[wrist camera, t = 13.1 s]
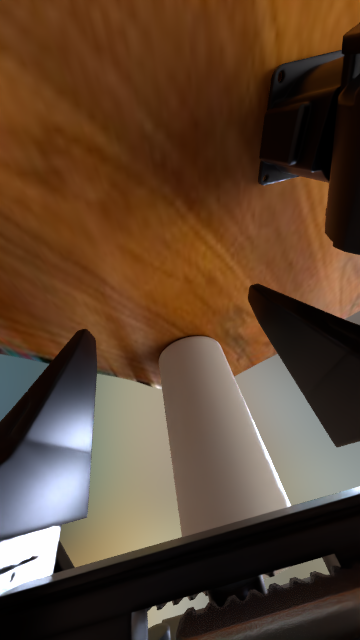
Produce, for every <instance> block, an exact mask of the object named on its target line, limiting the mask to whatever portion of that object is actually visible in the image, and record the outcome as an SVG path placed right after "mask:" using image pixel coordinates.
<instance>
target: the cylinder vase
mask: <svg viewBox="0 0 360 640" xmlns="http://www.w3.org/2000/svg"><path fill="white" fill-rule="evenodd" d="M159 369H160V376H161V384H162V391H163V398H164V405H165V413H166V421H167V428H168V435H169V443H170V450H171V458H172V465H173V473H174V480H175V487H176V495H177V502H178V510H179V517H180V524H181V532H182V537H184V536H188V535H191V534H195V533H198V532H202V531H205V530H209V529H212V528H216V527H219V526H223V525H226V524H230V523H233V522H237V521H240V520H244V519H247V518H251V517H254V516H258V515H261V514H265V513H268V512H272V511H275V510H279V509H282V508H286V507H289V506H291V505H290V503H289V500H288V498H287V496H286V494H285V491H284V489H283V487H282V484H281V482H280V480H279V478H278V475H277V473H276V471H275V469H274V466H273V464H272V462H271V459H270V457H269V455H268V453H267V451H266V448H265V446H264V444H263V441H262V439H261V437H260V435H259V432H258V430H257V428H256V426H255V423H254V421H253V419H252V416H251V414H250V412H249V410H248V407H247V405H246V403H245V400H244V399H243V396H242V394H241V391H240V389H239V387H238V385H237V382H236V380H235V378H234V376H233V373H232V371H231V369H230V366H229V364H228V362H227V360H226V357H225V355H224V353H223V351H222V348H221V346H220V344H219V343H218V342H217V341H216V340H214V339H212V338H209V337H205V336H192V337H187V338H183V339H180V340H178V341H176V342H174V343H172V344H171V345H169V346H168V347H167V348H166V349H165V350H164V351H163V352H162V353H161V355H160V358H159ZM290 567H291V566H290ZM290 567H287V568H284V569H280V570H277V571H276V572H275V575H276V574H278V573H280V572H282V571H284V570H286V569H288V568H290ZM268 577H269V576H267V575H265V574H263V575H262V578H263V579H266V578H268Z"/></svg>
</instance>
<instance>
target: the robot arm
mask: <svg viewBox="0 0 360 640" xmlns="http://www.w3.org/2000/svg"><path fill="white" fill-rule="evenodd" d="M280 72H281V74H282V77H281V80H280V82H278V75H279V73H280ZM260 159H261V161H260V168H259V176H258V182H259V184H261V185H267V184H271V183H275V182H279V181H283V180H287V179H291V178H295V177H299V176H302V177H306V178H311V179H315V180H320V181H324V182H328V183H329V191H328V201H327V208H326V220H325V233H326V234H327V236H328V237H329V238H330V240H331V241H333V246H334V247H335V248H337V249H340V250H342V251H344V252H349V253H353V254H357V255H360V23H359V24H357V25H356V26H355V27H354V28H352V29H351V30H350V31H348V32H347V33H346V34H345V35H344V36H343V43H342V50H340V51H335V52H331V53H327V54H323V55H318V56H314V57H310V58H306V59H302V60H297V61H293V62H289V63H285V64H282V65H280V66H278V67H277V68H276V69H275V70H274V72H273V74H272V78H271V84H270V91H269V99H268V107H267V112H266V114H265V117H264V125H263V133H262V141H261V149H260ZM265 175H266V179H265V180H264V181H263V177H264V176H265ZM248 301H249V303H250V305H251V307H252V309H253V312H254V314H255V316H256V318H257V320H258V322H259V324H260V326H261V327H262V329H263V331H264V332H265V334H266V335H267V337H268V339H269V340H270V342H271V343H272V345H273V347H274V348H275V350H276V351H277V353H278V355H279V356H280V358H281V359H282V361H283V363H284V364H285V366H286V367H287V369H288V371H289V372H290V374H291V376H292V377H293V379H294V380H295V382H296V384H297V385H298V387H299V388H300V390H301V392H302V393H303V395H304V396H305V398H306V400H307V401H308V403H309V404H310V406H311V408H312V409H313V411H314V412H315V414H316V416H317V417H318V419H319V421H320V422H321V424H322V425H323V427H324V429H325V430H326V432H327V433H328V435H329V437H330V438H331V440H332V441H333V443H334V444H335V446H336V447H341V446H344V445H347V444H351V443H355V442H358V441H360V325H358V324H355V323H352V322H350V321H347V320H344V319H342V318H339V317H337V316H334V315H332V314H330V313H327V312H324V311H322V310H320V309H318V308H315V307H313V306H310V305H308V304H306V303H303V302H301V301H298V300H296V299H294V298H291V297H289V296H287V295H284V294H282V293H279V292H277V291H275V290H272V289H270V288H267V287H265V286H263V285H260V284H254V285H251V286H250V288H249V294H248ZM96 377H97V354H96V340H95V338H94V337H93V335H92V334H91V333H90V332H89V331H88V330H87V329H82V330H79V331H77V332H76V333H75V335H74V336H73V337H72V338H71V339H70V341H69V342H68V343H67V344H66V345H65V346H64V348H63V349H62V350H61V351H60V352H59V354H58V355H57V356H56V357H55V358H54V360H53V361H52V362H51V363H50V364H49V366H48V367H47V368H46V369H45V370H44V372H43V373H42V374H41V375H40V376H39V378H38V379H37V380H36V381H35V382H34V383H33V385H32V386H31V387H30V388H29V389H28V392H26V393H25V394H24V395H23V397H22V398H21V399H20V400H19V401H18V402H17V403H16V405H15V406H14V407H13V408H12V409H11V410H10V411H9V413H8V414H7V415H6V416H5V417H4V418H3V419H2V420H1V421H0V640H360V487H356V488H353V489H349V490H346V491H342V492H339V493H335V494H332V495H328V496H325V497H321V498H318V499H314V500H311V501H307V502H304V503H300V504H297V505H293V506H289V507H286V508H282V509H279V510H275V511H272V512H268V513H265V514H261V515H258V516H254V517H251V518H247V519H244V520H240V521H237V522H233V523H230V524H226V525H223V526H219V527H216V528H212V529H209V530H205V531H202V532H198V533H195V534H191V535H188V536H184V537H181V538H178V539H174V540H170V541H167V542H163V543H160V544H157V545H153V546H149V547H146V548H142V549H139V550H135V551H132V552H128V553H125V554H121V555H118V556H114V557H111V558H107V559H104V560H100V561H97V562H93V563H90V564H86V565H83V566H79V567H76V568H75V567H74V566H73V564H72V562H71V560H70V558H69V557H68V555H67V554H66V552H65V549H64V548H63V546H62V544H61V542H60V541H59V536H60V530H61V525H62V524H66V523H69V522H73V521H77V520H80V519H83V518H86V517H87V512H88V499H89V484H90V469H91V452H92V451H91V450H92V436H93V422H94V406H95V392H96ZM321 557H322V558H323V560H324V562H325V564H326V567H327V569H328V571H329V573H330V575H324V574H322V573H319V572H316V571H314V572H311V573H310V577H308V578H304V579H298V578H296V577H294V578H290V582H289V583H287V584H284V585H281V586H280V585H278V584H276V583H274V584H270V585H269V589H267V590H266V588H265V584H264V581H263V578H262V575H263V574H265V575H267V576H269V577H273V576H274V575H275V572H276V571H277V570H280V569H284V568H287V567H290V566H293V565H297V564H301V563H304V562H308V561H311V560H314V559H318V558H321ZM201 592H203V593H204V594H205V595H206V596H208V597H209V603H208V604H207V606H206V607H205V608H202V609H199V610H195V609H194V607H192V608H188V609H187V610H186V612H185V613H184V614H182V615H178V616H175V617H172V618H168V619H165V620H163V621H162V623H160V624H156V625H154V626H152V627H150V628H149V629H148V620H147V611H148V610H150V609H151V607H153V606H156V607H157V610H160V609H162V608H163V607H164V606H165V605H166V604H167V602H170V601H172V603H173V605H177V604H178V603H179V602H180V601H181V600H182V599H183V598H184V597H188V599H189V600H190V601H191V600H194V599H195V598H196V596H197V595H198V594H199V593H201Z"/></svg>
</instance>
